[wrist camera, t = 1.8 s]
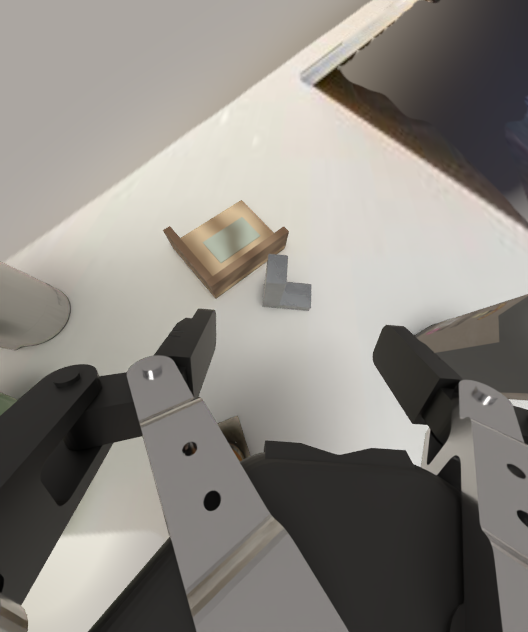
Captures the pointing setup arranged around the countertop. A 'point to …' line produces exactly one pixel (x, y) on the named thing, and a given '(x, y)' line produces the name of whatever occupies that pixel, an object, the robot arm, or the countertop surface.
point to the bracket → (284, 287)
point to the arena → (227, 239)
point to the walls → (233, 269)
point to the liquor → (486, 346)
